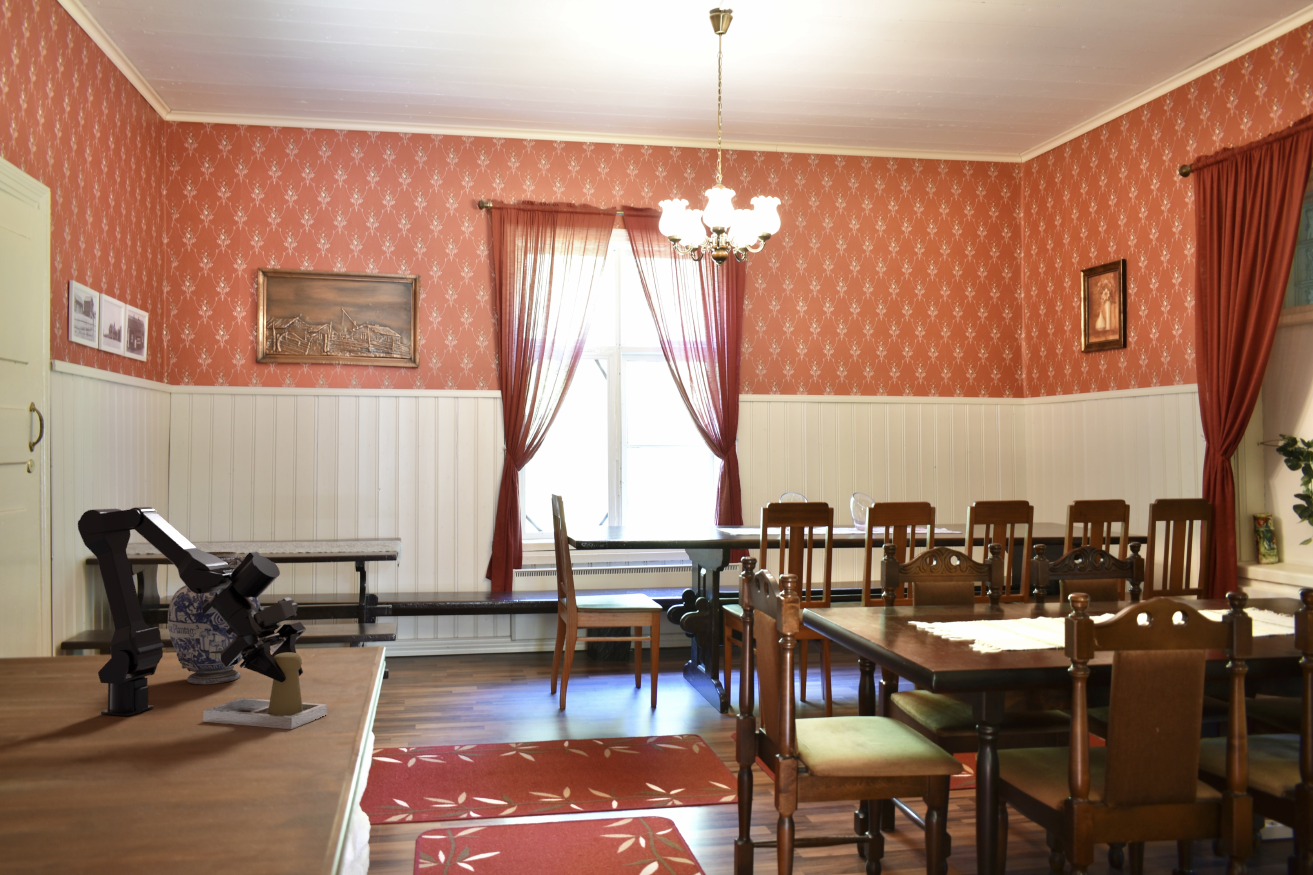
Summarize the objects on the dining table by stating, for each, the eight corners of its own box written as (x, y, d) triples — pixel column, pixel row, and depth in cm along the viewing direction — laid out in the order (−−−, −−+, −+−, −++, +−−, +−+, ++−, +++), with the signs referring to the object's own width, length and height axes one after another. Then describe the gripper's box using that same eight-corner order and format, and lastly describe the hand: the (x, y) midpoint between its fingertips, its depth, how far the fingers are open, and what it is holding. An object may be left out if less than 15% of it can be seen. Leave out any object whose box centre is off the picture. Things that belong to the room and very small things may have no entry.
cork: (302, 716, 168) (303, 655, 169) (266, 718, 166) (267, 656, 167) (303, 708, 174) (305, 649, 174) (268, 710, 172) (270, 651, 173)
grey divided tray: (203, 721, 169) (203, 710, 169) (242, 708, 179) (242, 697, 179) (291, 729, 164) (291, 717, 164) (326, 714, 173) (326, 704, 174)
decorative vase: (144, 681, 203) (149, 552, 204) (222, 667, 218) (226, 548, 220) (202, 693, 191) (206, 557, 193) (280, 678, 207) (284, 552, 209)
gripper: (236, 591, 163) (291, 657, 160) (298, 579, 181) (348, 638, 178) (195, 634, 164) (250, 700, 161) (260, 618, 182) (310, 678, 180)
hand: (292, 677), depth 170 cm, fingers closed on cork, 5 cm apart
